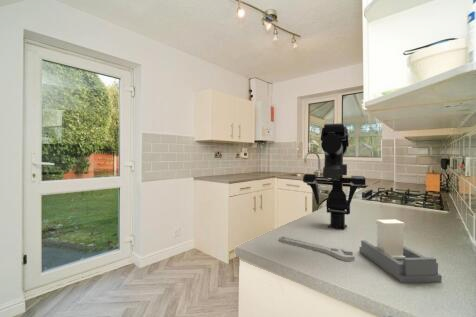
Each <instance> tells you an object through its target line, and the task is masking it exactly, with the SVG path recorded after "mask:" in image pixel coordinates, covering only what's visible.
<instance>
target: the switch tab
mask: <svg viewBox="0 0 476 317" xmlns="http://www.w3.org/2000/svg"><path fill="white" fill-rule="evenodd" d="M375 223H376V224H377V226H376V227H377V232H376V234H377V235H376V236H377V240H376V243H377V245H376V247H377V248H378V249H380V250H382V251H383V252H385V253H386V254H388V255H390V256H391V257H393V258H394V259H403V258H406V257H405V256H403V246H404V228H405V227H406V223H405V222H403V221H400V220H398V219H395V218H394V219H376V220H375Z"/></svg>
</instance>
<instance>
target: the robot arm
mask: <svg viewBox="0 0 476 317" xmlns="http://www.w3.org/2000/svg"><path fill="white" fill-rule="evenodd" d="M320 132H321V134H320V142H321V149H322V151H323V153H324V163H323V164H324V166H323V168H322V176H318V175H317V174H316V173H315V174H313V173H311V174H310V173H305V174H304V175H303V176H302V183H305V184H306V185H307V186H309V187H310V188H311V190H312V194H314V195H313V196H314V199H315V202H316V205H317V206H319V204H320V197H319V185H318V183H329V184H330V183H332V184H331V185H332V187H331V190H330V192H329V193H328V195H327V197H328V198H326V213H327V214H328V213H329V214H330V216H329V220H330V223H329V224H328V225H327V227H328V228H330V229H336V230H337V229H338V230H342V231H343V230H346V228H347V227H348V224H345V223H346V222H345V221H346V217H345V216H346V215H351V203H352V200H353V197H354V195H355V193H356V191H357V189H359V190H360V189H361V188H362V187H365V186H366V177H365V176H364V175H351V176H350V177H344V176H347V175H348V164H346V163H344V157H345V155H346V154H347V152H348V147H349V145H350V141H349V140H350V139H349V138H350V135H349V129H348V128H347V125H346V126H345V123H343V122H342V123H341V122H340V123H338V122H337V123H325V124H323V127H321V131H320ZM343 184H350V185H349V191H348V197H347V195H346V193H345V191H344V190H343V189H344V188H343V187H344V186H343Z"/></svg>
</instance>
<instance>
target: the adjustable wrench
mask: <svg viewBox="0 0 476 317" xmlns="http://www.w3.org/2000/svg"><path fill="white" fill-rule="evenodd" d="M278 240H279V242H280V241H281V243H284V242H285V244H288V243H289V245H292V244H293V245H292V246H296V245H297V247H300V248H304V249H308V250H312V251H316V252H320V253H324V254H327V255H330V256H332V257H334V258H336V259H338V260H339V261H344V262H354V261H356V260H355V257H356V256H355V255H354V254H353V253H354V252H353V251H352V250H350V249H347V248H343V247H329V246H323V245H320V244H315V243H312V242H307V241H303V240H300V239H299V240H298V239H295V238H292V237H291V238H290V237H286V236H280V237H279V238H278Z"/></svg>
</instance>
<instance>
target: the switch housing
mask: <svg viewBox="0 0 476 317" xmlns="http://www.w3.org/2000/svg"><path fill="white" fill-rule="evenodd" d="M360 245H361V246H359V249H358V251H359V253H361V254H362V255H364V256H365V257H366V258H368V260H370V261H372V262H373V263H374V264H376V265H377V266H379V267H380V268H381V269H382V270H384V271H386V272H387V273H388V274H389V275H391V276H392V277H394V278H395V279H396V280H398V282H401V283H402V284H403V283H404V284H405V283H408V284H409V283H435V282H436V283H441V282H442V281H443V280H442V277H443V276H442V274H440V273H439V264H438V263H437V258H435V257H433V256H430V257H429V256H428V257H426V256H425V255H422V254H421V253H419V252H417V251H415V250H412V249H411V248H409V247H407V246H405V245H403V256H405V257H406V258H403V259H394V258H393V257H391V256H390V255H388V254H386V253H385V252H383V251H382V250H380V249H378V248H377V246H375V245H373V244H372V243H370V242H368V241H367V240H365V239H362V240H361V244H360Z"/></svg>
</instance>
